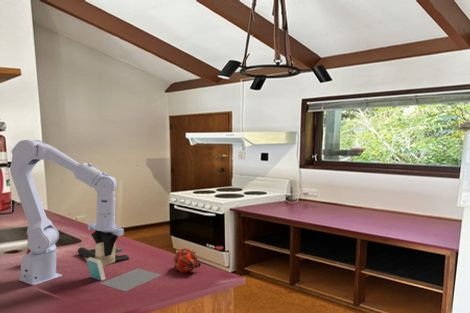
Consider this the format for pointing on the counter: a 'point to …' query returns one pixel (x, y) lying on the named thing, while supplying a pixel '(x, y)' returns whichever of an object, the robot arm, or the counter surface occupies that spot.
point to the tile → (95, 268)
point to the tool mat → (130, 279)
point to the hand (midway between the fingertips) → (105, 254)
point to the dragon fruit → (186, 261)
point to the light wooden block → (101, 255)
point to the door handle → (91, 253)
